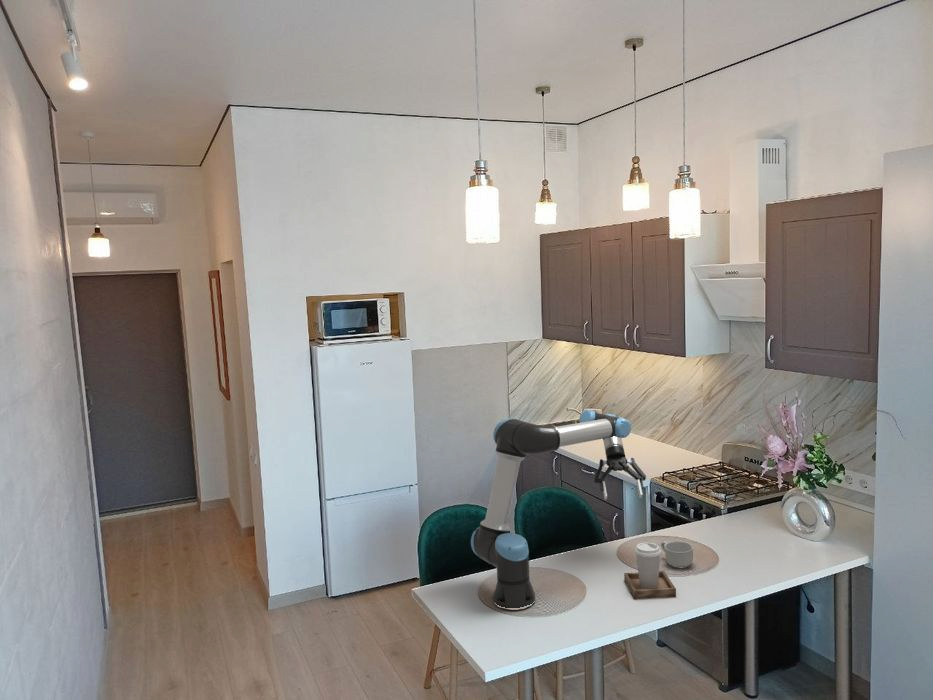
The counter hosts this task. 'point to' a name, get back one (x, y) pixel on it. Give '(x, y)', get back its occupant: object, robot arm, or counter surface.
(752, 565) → the counter surface
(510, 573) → the robot arm
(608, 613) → the counter surface
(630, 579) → the walnut tray
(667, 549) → the teacup
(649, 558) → the coffee cup
